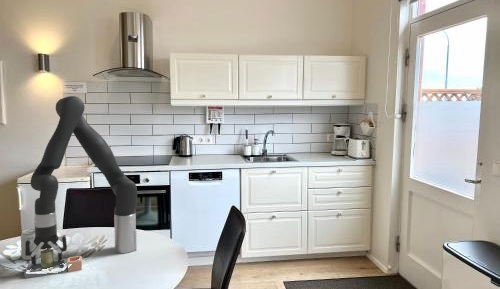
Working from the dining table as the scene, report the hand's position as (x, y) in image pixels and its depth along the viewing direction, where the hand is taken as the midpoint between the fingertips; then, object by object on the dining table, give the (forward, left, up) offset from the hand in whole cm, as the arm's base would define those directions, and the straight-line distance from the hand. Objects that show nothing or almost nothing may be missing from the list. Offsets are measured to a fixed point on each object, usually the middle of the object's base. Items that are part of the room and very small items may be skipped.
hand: (47, 262), depth 141 cm
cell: (0, 0, -3) cm, 3 cm away
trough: (0, 0, -3) cm, 3 cm away
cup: (-10, +2, -3) cm, 11 cm away
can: (+8, -16, -3) cm, 18 cm away
